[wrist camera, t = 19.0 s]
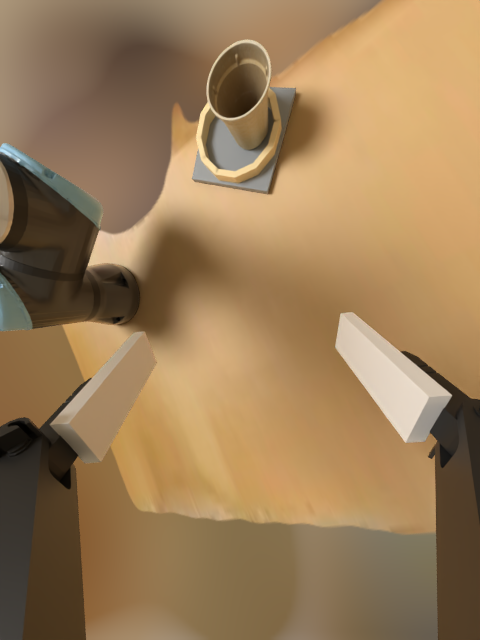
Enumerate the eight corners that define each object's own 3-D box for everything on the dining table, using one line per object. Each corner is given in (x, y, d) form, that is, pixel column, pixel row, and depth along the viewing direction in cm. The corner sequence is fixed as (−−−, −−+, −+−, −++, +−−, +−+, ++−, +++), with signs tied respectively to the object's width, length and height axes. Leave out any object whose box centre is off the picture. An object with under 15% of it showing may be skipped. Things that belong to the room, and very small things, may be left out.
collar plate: (194, 181, 40) (186, 172, 37) (213, 90, 37) (206, 73, 34) (268, 194, 36) (265, 185, 34) (295, 94, 33) (295, 75, 30)
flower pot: (218, 126, 36) (195, 77, 28) (262, 87, 34) (252, 20, 25) (240, 171, 36) (223, 135, 28) (286, 135, 33) (283, 84, 25)
